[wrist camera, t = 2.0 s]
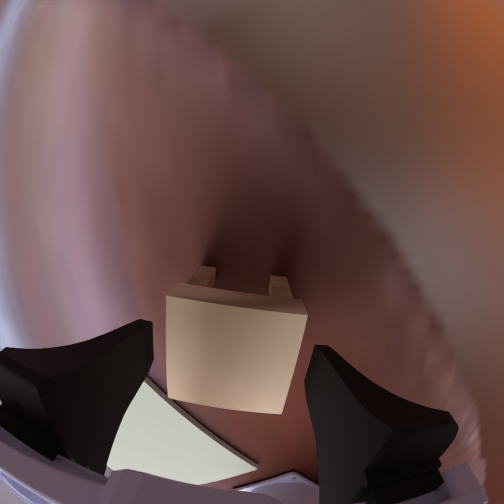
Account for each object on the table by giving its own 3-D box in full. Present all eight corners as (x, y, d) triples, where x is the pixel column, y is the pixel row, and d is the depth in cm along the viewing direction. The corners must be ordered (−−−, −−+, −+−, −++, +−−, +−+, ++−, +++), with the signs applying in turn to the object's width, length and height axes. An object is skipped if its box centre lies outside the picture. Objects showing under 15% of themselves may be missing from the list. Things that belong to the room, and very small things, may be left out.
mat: (257, 464, 20) (257, 469, 19) (148, 488, 22) (147, 492, 21) (114, 342, 17) (111, 346, 16) (41, 400, 19) (38, 403, 19)
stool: (291, 273, 15) (307, 315, 10) (275, 353, 17) (281, 414, 11) (197, 260, 15) (166, 295, 10) (192, 341, 17) (167, 397, 11)
